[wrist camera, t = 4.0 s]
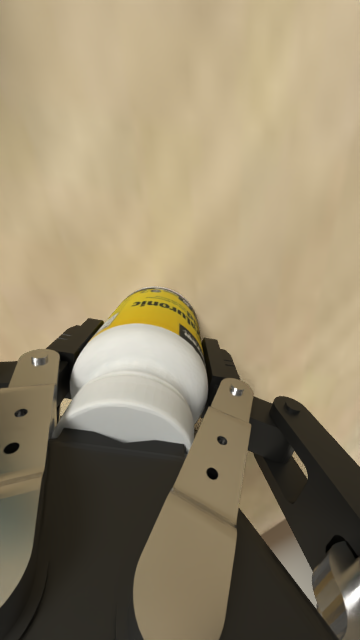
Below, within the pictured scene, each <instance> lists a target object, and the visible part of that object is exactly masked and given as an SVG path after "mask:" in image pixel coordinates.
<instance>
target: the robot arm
mask: <svg viewBox="0 0 360 640" xmlns="http://www.w3.org/2000/svg"><path fill="white" fill-rule="evenodd" d="M103 324H104V322H103V320H97V319H91V318H88V319H87V320H86V321H85V322H84V323H83V324H82V325H81V326H78V325H76V326H74V327H71V328H69V329H67V330H66V331H65V332H64V333H63V334H62V335H61V336H59V338H57V339H56V340H55V341H54V342H53V343H52V344H51V345H49V346H48V347H47V348H46V349H37V350H32V351H29V352H27V353H25V354H23V355H22V356H21V357H20V358H19V360H18V361H14V362H0V640H360V467H359V466H358V465H357V463H356V462H355V461H354V460H353V459H352V458H351V457H350V456H349V455H348V454H347V452H346V451H345V450H344V449H343V448H342V447H341V446H340V445H339V444H338V443H337V441H336V440H335V439H334V438H333V437H332V436H331V435H330V434H329V433H328V432H327V431H326V429H325V428H324V427H323V426H322V425H321V424H320V423H319V422H318V421H317V420H316V418H315V417H314V416H313V415H312V414H311V413H310V412H309V411H308V410H307V409H306V408H305V407H304V406H303V405H302V404H301V403H299V402H298V401H296V400H294V399H291V398H289V397H284V396H279V397H276V398H275V399H274V402H273V404H272V403H269V402H266V401H264V400H261V399H259V398H256V397H254V396H253V395H254V393H253V390H252V389H251V387H250V386H249V385H248V384H246V383H245V382H243V381H241V380H240V378H239V375H238V373H237V370H236V367H235V365H234V362H233V360H232V357H231V355H230V354H229V353H228V352H227V351H226V350H223V349H220V347H219V344H218V341H217V340H215V339H209V338H203V340H202V349H203V354H204V360H205V364H206V370H207V378H208V396H207V402H206V405H205V408H204V410H203V412H202V414H201V418H203V421H202V423H201V425H200V427H199V430H198V432H197V434H196V436H195V439H194V441H193V443H192V446H191V448H190V450H189V452H188V455H186V454H185V449H184V444H180V443H173V442H167V441H160V440H149V441H139V442H128V443H123V442H120V441H117V440H115V439H112V438H109V437H107V436H104V435H102V434H99V433H97V432H94V431H86V430H79V429H71V428H63V430H62V432H61V434H60V435H59V437H58V438H52V434H53V432H54V430H55V428H56V426H57V424H58V422H59V421H60V411H61V402H62V400H63V399H64V398H68V399H72V398H71V394H70V378H71V373H72V370H73V367H74V364H75V362H76V360H77V358H78V356H79V355H80V353H81V352H82V350H83V349H84V347H85V346H86V345H87V343H88V342H89V341H90V340H91V338H92V337H93V336H94V335H95V334H96V333H97V331H98V330H99V329H100V328H101V327H102V325H103ZM51 438H52V439H51ZM247 450H249V451H251V452H253V453H254V456H255V459H256V461H257V463H258V465H259V467H260V468H261V470H262V472H263V474H264V476H265V478H266V480H267V482H268V484H269V486H270V488H271V490H272V492H273V494H274V496H275V498H276V500H277V502H278V504H279V506H280V508H281V510H282V512H283V514H284V516H285V518H286V520H287V521H288V524H289V526H290V528H291V529H292V531H293V533H294V535H295V537H296V539H297V541H298V543H299V545H300V547H301V549H302V551H303V553H304V555H305V557H306V559H307V561H308V563H309V565H310V567H311V569H312V571H313V575H312V585H313V591H314V595H315V598H316V601H317V609H316V608H315V607H314V605H313V604H312V603H311V602H310V600H309V599H308V598H307V596H306V595H305V594H304V592H303V591H302V590H301V588H300V587H299V586H298V584H297V583H296V582H295V581H294V579H293V578H292V577H291V575H290V574H289V573H288V571H287V570H286V569H285V567H284V566H283V565H282V564H281V562H280V561H279V560H278V558H277V557H276V556H275V554H274V553H273V552H272V550H271V549H270V548H269V547H268V545H267V544H266V543H265V541H264V540H263V539H262V538H261V536H260V535H259V533H258V532H257V531H256V529H255V528H254V527H253V526H252V524H251V523H250V522H249V520H248V519H247V518H246V516H245V515H244V514H243V512H242V511H241V510H240V509H239V502H240V495H241V489H242V482H243V476H244V470H245V463H246V457H247ZM294 451H295V452H296V454H297V455H298V456H299V458H300V459H301V461H302V462H303V464H304V465H305V467H306V470H307V473H308V479H307V478H306V476H305V475H304V473H303V472H302V470H301V469H300V467H299V466H298V464H297V463H296V461H295V460H294V458H293V457H292V454H293V452H294Z"/></svg>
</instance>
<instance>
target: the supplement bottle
mask: <svg viewBox="0 0 360 640" xmlns="http://www.w3.org/2000/svg"><path fill="white" fill-rule="evenodd" d="M70 394H71V398H72V401H71V402H70V404H69V406H68V407H67V409H66V411H65V412H64V414H63V416H62V417H61V419H60V421H59V422H58V424H57V426H56V428H55V430H54V432H53V434H52V438H58V437H59V435H60V434H61V432H62V430H63V428H71V429H79V430H86V431H94V432H97V433H99V434H102V435H104V436H107V437H109V438H112V439H115V440H117V441H120V442H123V443H128V442H139V441H149V440H160V441H167V442H173V443H180V444H184V449H185V454H186V455H188V452H189V450H190V448H191V446H192V443H193V441H194V424H195V423H196V422H197V420H198V419H199V417H200V416H201V414H202V412H203V410H204V408H205V405H206V402H207V396H208V378H207V370H206V364H205V360H204V354H203V349H202V343H201V337H200V332H199V326H198V321H197V317H196V314H195V312H194V310H193V308H192V306H191V305H190V303H189V302H188V301H187V300H186V299H185V298H184V297H183V296H182V295H180V294H179V293H177V292H176V291H173V290H171V289H168V288H164V287H155V286H154V287H146V288H142V289H140V290H137V291H135V292H134V293H132V294H131V295H129V296H128V297H127V298H126V299H125V300H124V301H123V302H122V303H121V304H120V305H119V306H118V308H117V309H116V310H115V311H114V312H113V314H112V315H111V316H110V317H109V318H108V320H107V321H106V322H105V323H104V324H103V325H102V327H101V328H100V329H99V330H98V331H97V333H96V334H95V335H94V336H93V337H92V338H91V340H90V341H89V342H88V343H87V345H86V346H85V347H84V349H83V350H82V352H81V353H80V355H79V356H78V358H77V360H76V362H75V364H74V367H73V370H72V373H71V378H70ZM52 438H51V439H52Z"/></svg>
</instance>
